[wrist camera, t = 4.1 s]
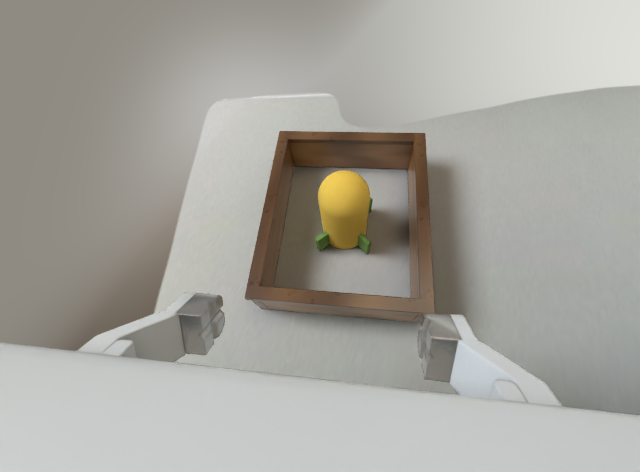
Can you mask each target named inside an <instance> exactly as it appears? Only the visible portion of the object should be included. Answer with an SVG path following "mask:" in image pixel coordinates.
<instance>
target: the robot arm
mask: <svg viewBox="0 0 640 472" xmlns="http://www.w3.org/2000/svg"><path fill="white" fill-rule="evenodd" d="M222 306H223V300H222V297H221V296H220V295H213V294H203V293H194V292H185V293H183V294H182V295H181V296H180V297H179V298H178V299H177V300H176V301H175V302H173V303H172V304H171V305H170V306H169V307H168V308H167V309H166V310H165V311H164V312H158V313H155V314H152V315H150V316H147V317H145V318H142V319H139V320H137V321H134V322H131V323H129V324H126V325H123V326H121V327H118V328H115V329H113V330H110V331H107V332H105V333H102V334H99V335H97V336H95V337H94V338H93V339H91V340H90V341H89V342H88V343H86V344H85V345H84V346H83V347H81V348H80V349H79V350H77V351H70V350H61V349H52V348H44V347H35V346H27V345H18V344H9V343H0V472H640V415H631V414H622V413H613V412H604V411H596V410H587V409H578V408H569V407H563V406H562V404H561V403H560V401H559V400H558V399H557V397H556V396H555V394H554V393H553V392H552V390H551V389H550V388H549V386H548V385H547V384H546V383H545V382H543V381H542V380H540V379H539V378H537V377H536V376H534V375H532V374H531V373H529V372H528V371H526V370H525V369H523V368H522V367H520V366H519V365H517V364H515V363H514V362H512V361H511V360H509V359H508V358H506V357H505V356H503V355H502V354H500V353H499V352H497V351H495V350H494V349H492V348H491V347H489V346H488V345H486V344H485V343H483V342H478V340H477V338H476V336H475V334H474V333H473V331H472V329H471V327H470V325H469V324H468V322H467V320H466V318H465V316H463V315H453V314H434V313H422V314H421V318H420V324H421V328H422V329H421V330H420V331H419V332H418V353H419V357H420V358H421V359H422V365H421V366H422V369H423V373H424V377H425V379H427V380H435V381H442V382H449V384H450V385H451V386H452V387H453V388H454V389H455V390H456V391H457V392H458V393H459V394H460V395H456V394H447V393H439V392H430V391H421V390H412V389H404V388H395V387H386V386H377V385H368V384H360V383H351V382H342V381H333V380H324V379H316V378H307V377H298V376H289V375H281V374H272V373H263V372H254V371H246V370H237V369H228V368H219V367H211V366H202V365H193V364H184V363H176V362H175V361H176V360H178V359H179V358H181V357H182V356H184V355H185V354H198V355H206V354H207V353H208V352H209V350H210V349H211V347H212V346H213V344H214V340H213V339H215V338H217V337H219V336H220V334H221V332H222V330H223V327H224V322H225V317H224V313H223V312H222V311H221V309H220V308H221V307H222Z"/></svg>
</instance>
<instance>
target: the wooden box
mask: <svg viewBox="0 0 640 472" xmlns="http://www.w3.org/2000/svg"><path fill="white" fill-rule="evenodd" d="M294 166H315V167H350V168H385V169H408V200H409V245H410V289H411V298H402V297H389V296H377V295H364V294H352V293H339V292H327V291H314V290H301V289H289V288H276V287H273V285H274V279H275V273H276V267H277V262H278V256H279V250H280V244H281V238H282V233H283V227H284V221H285V215H286V210H287V204H288V198H289V192H290V187H291V181H292V175H293V169H294ZM245 299H246V300H252V301H253V302H254V303H255V304H257V305H258V306H259V307H260V308H262V309H273V310H284V311H295V312H307V313H318V314H329V315H340V316H352V317H363V318H374V319H385V320H397V321H408V322H419V323H420V318H421V314H422V313H434V314H435V301H434V283H433V265H432V247H431V229H430V211H429V193H428V175H427V157H426V139H425V133H370V132H301V131H280V132H279V137H278V142H277V146H276V151H275V156H274V161H273V165H272V170H271V175H270V180H269V184H268V189H267V194H266V199H265V203H264V208H263V213H262V218H261V222H260V227H259V232H258V237H257V241H256V246H255V251H254V256H253V260H252V265H251V270H250V274H249V279H248V284H247V289H246V293H245Z"/></svg>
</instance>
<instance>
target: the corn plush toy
mask: <svg viewBox="0 0 640 472" xmlns="http://www.w3.org/2000/svg"><path fill="white" fill-rule="evenodd" d="M318 202H319V207H320V213H321V219H322V225H323V231H324V233H323V234H321V235H320V236H319V237H317V238H316V239H315V240H316V244H317V248H318V250H319V251H321V250H322V249H324V248H325V247H326V246H328V245H329V244H331V245H332V246H334V247H336V248H340V249H350V248H353V247H356V246H357V245H358V246H359V247H360V248H361V249H362V250H363V251H364V252H365V253H366V254H368V253H369V251H370V245H371V242H370V241H369V240H368V239H367V238H366V237H365V235H366V229H367V220H368V213H370V212H371V207H372V199H371V198H370V191H369V188H368V185H367V183H366V181H365V180H364V179H363V178H362V177H361V176H360V175H358V174H357V173H355V172H352V171H348V170H341V171H337V172H334V173H332V174H330V175H329V176H327V177H326V178H325V179H324V181H323V182H322V184H321V186H320V188H319V192H318Z"/></svg>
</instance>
